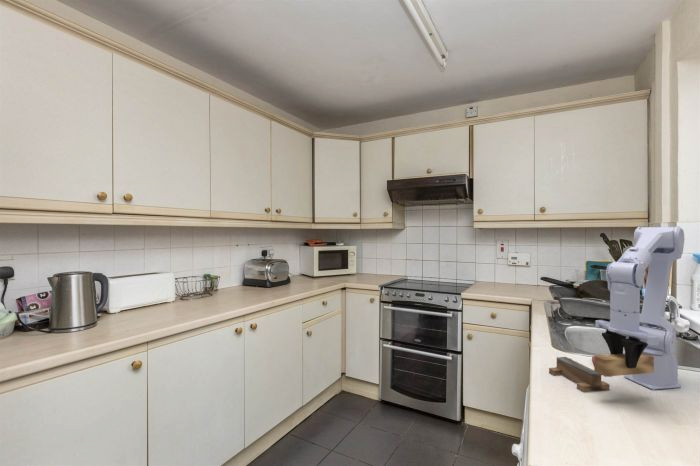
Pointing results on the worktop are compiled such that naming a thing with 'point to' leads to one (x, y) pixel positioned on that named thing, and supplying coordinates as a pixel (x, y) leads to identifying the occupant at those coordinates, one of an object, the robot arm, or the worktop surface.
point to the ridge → (579, 375)
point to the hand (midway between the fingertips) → (624, 364)
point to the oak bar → (622, 365)
